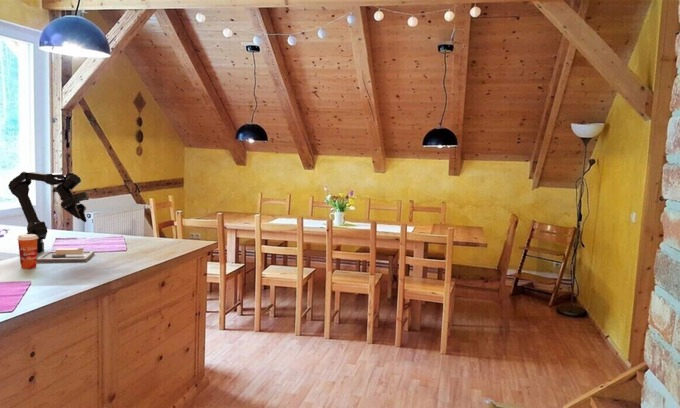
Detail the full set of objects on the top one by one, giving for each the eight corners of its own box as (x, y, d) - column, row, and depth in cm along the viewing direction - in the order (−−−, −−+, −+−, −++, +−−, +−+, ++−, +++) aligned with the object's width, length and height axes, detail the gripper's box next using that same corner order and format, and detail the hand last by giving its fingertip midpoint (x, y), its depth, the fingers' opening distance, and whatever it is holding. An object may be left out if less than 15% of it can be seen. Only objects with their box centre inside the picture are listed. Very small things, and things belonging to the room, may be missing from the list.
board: (35, 262, 242) (35, 258, 242) (47, 254, 258) (47, 250, 258) (85, 261, 247) (85, 257, 247) (94, 254, 263) (94, 250, 263)
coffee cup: (19, 270, 227) (18, 237, 226) (17, 266, 234) (15, 234, 232) (40, 268, 233) (39, 236, 231) (37, 264, 239) (36, 233, 237)
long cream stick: (50, 257, 247) (49, 249, 246) (54, 254, 252) (53, 247, 252) (81, 257, 250) (81, 249, 249) (84, 254, 256) (84, 247, 255)
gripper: (74, 181, 246) (91, 207, 245) (87, 190, 264) (103, 214, 263) (53, 193, 244) (70, 220, 242) (67, 201, 262) (83, 226, 261)
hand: (82, 220), depth 252 cm, fingers open, 9 cm apart
